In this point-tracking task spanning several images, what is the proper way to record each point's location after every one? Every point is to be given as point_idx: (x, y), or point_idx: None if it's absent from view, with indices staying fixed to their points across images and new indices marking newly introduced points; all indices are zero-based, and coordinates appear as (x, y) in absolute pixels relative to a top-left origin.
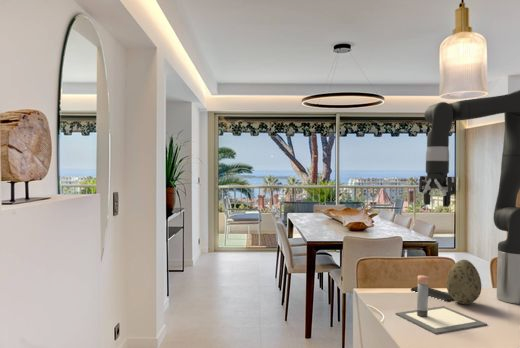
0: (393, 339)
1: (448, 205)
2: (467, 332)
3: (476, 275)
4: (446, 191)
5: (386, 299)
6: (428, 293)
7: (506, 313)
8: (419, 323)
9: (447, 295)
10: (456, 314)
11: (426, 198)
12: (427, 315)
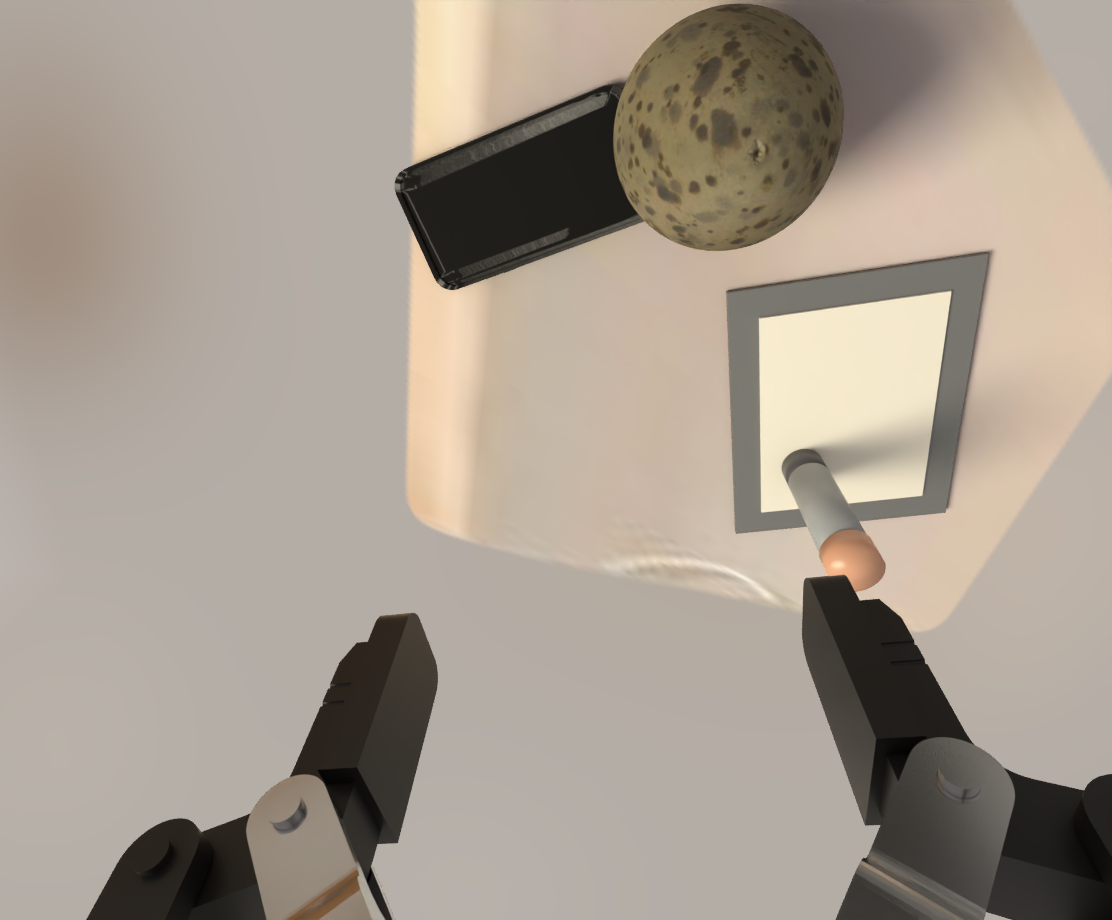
0: None
1: (846, 594)
2: (990, 394)
3: (842, 111)
4: (889, 866)
5: (567, 475)
6: (534, 239)
7: None
8: (856, 514)
9: (584, 142)
10: (848, 319)
11: (411, 757)
12: (820, 456)
